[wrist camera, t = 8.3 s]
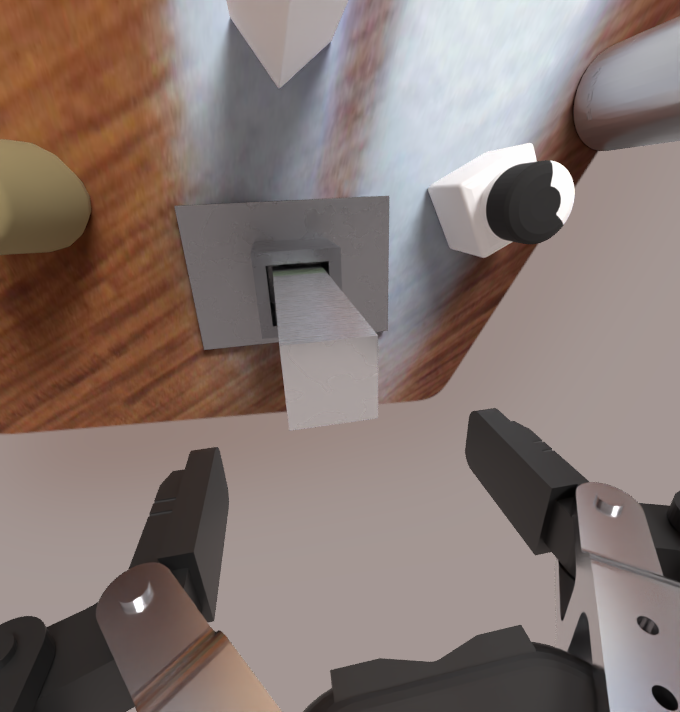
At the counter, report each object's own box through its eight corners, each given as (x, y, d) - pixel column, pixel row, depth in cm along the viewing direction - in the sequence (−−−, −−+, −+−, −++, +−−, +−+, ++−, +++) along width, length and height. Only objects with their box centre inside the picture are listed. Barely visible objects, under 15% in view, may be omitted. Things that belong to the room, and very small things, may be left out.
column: (319, 263, 31) (377, 335, 15) (322, 308, 33) (378, 418, 17) (272, 267, 31) (279, 345, 14) (277, 313, 32) (289, 430, 16)
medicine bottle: (449, 250, 40) (516, 269, 29) (425, 187, 37) (490, 182, 26) (506, 216, 40) (595, 223, 29) (487, 150, 37) (579, 130, 26)
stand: (385, 195, 37) (426, 195, 27) (384, 327, 42) (418, 364, 33) (177, 205, 34) (143, 208, 24) (206, 345, 39) (187, 391, 30)
